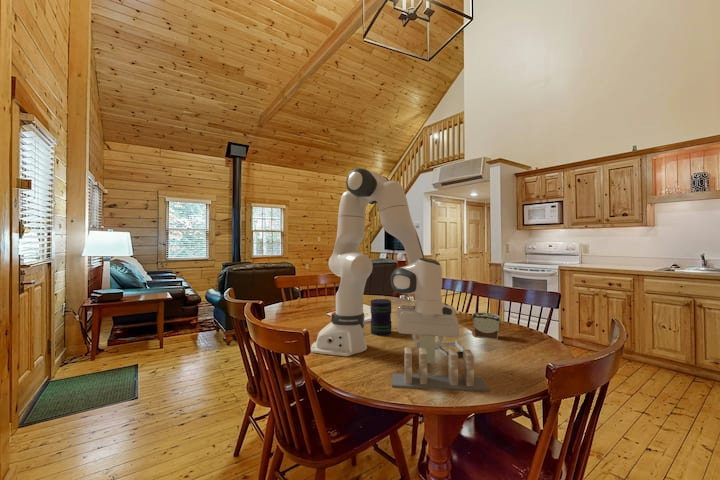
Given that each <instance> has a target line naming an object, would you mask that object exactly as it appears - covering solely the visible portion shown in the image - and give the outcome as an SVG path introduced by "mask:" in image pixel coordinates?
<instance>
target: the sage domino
mask: <svg viewBox="0 0 720 480" xmlns="http://www.w3.org/2000/svg"><path fill="white" fill-rule="evenodd" d="M419 341H420V348H425V349H426V352H427V364H435V362H436V359H435V358H436V357H435V355H436V349H435V342H436V336H429V335H419Z"/></svg>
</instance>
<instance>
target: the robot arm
mask: <svg viewBox="0 0 720 480" xmlns="http://www.w3.org/2000/svg"><path fill="white" fill-rule="evenodd" d="M345 180H346V182H345V186H346V188H347V190H346V191H344V192H343V193H342V195H341V198H340V201H339V206H338V215H337V228H336V229H337V230H336V231H337V233H336V238H335V243H334V246H333V250H332V254H331V256H330V257H329V259H328V268H329V270H330V271H331V273H332V274H333V275H335V276H337V277H339V278H340V282H339V286H338V290H337V292H336V293H335V311H332V312H331V314H330V322H329V323H328V324H327V325H326V326H324V327H323V328H322V329H321V330H320V331H318V333H317V338H316V341H314V342H313V343H312V344H311V345H310V351H311V353H314V354H323V355H330V356H331V355H332V356H341V357H350V356H352V355H356V354H360V353H362V352H364V351H366V350H367V349H368V344H367V341H366V338H365V337H366V336H365V329H364V328H365V313H364V293H365V287H366V283H367V280H368V279H369V277H370V275H371V274H372V272H373V266H374V265H373V262H372V260H371V258H370V257H369V256H368V255H366V254H364V253H362V252H359V248H360V247H361V246H360V245H361V243H362V241H363V240H364V238H365V234H366V233H365V231H366V228H365V227H366V211H367V210H366V209H367V206H368V205H369V204H370V205H374V204H377V208H378V209H377V210H378V214H379V215H378V216H379V219H380V220H379V221H380V224H381V227H382V229H383V230H384V231H385V232H386V233H387V234H389V235H391V236H392V237H394V238H395V239H397V240H398V241H399V242H400V243H401V244H402V246H403V248H404V251H405V254H406V257H407V261H408V264H407V265H405V266H401V267H397V268H395V269H394V270H393V271H392V273H391V275H390V284H391V285H390V286H391V287H392V289H393V290H394V291H395V292H396V293H397V294H400V295H410V294H414V305H404V304H403V305H401V306H398V307H397V310H396V316H397V318H398V320H397V332H398V333H399V334H403V335H407V334H408V335H411V337H412V339H413V341H414V344H415V345H414V346H415V348H418V349H419V348H420V340H417V336H420V335H429V336H435V337H438V338H437V339H438V340H437V343H435V350H438V351H439V345H440V344H441V343H443V340H444V337H445V338H458V336H460V325H459V320H458V318H457V316H456V311H457V310H456V308H455V307H454V306H453V305H451V304H449V303H445V302H443V296H442V289H443V271H442V265H441V263H440V262H439V261H437V260H435V259H433V258H427V257H426V258H425V254H424V251H423V248H422V245H421V241H420V238H419V235H418V233H417V230H416V228H415V226H414V223H413V219H412V216H411V212H410V208H409V204H408V200H407V197H406V193H405V191H404V188H403V185H402V184H401V183H400V182H399V181H395V180H390V179H389V178H387V177H386V176H384V175H381V174H380V173H378V172H376V171H372V170H369V169H367V168H362V167H358V168H354V169H352V170H350V172H349V173H348V175H347V176H346V179H345Z"/></svg>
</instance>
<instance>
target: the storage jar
mask: <svg viewBox="0 0 720 480" xmlns="http://www.w3.org/2000/svg"><path fill="white" fill-rule="evenodd" d="M370 315H371V316H370V317H371V319H370V334H371V335H374V336H376V335H377V337H385V336H389V335H391V334H392V320H391V319H392V300H390V299H387V298H376V299H371V300H370Z"/></svg>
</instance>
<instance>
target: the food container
mask: <svg viewBox="0 0 720 480" xmlns="http://www.w3.org/2000/svg"><path fill="white" fill-rule="evenodd" d="M471 319H472V321H473V322H472V323H473V330H474V337H478V338H483V339H490V340H494V341H497V340H498V337H499V330H500V322H502V320H501V317H500V315H498V314H495V313H490V312H475V313H472V315H471Z"/></svg>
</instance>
